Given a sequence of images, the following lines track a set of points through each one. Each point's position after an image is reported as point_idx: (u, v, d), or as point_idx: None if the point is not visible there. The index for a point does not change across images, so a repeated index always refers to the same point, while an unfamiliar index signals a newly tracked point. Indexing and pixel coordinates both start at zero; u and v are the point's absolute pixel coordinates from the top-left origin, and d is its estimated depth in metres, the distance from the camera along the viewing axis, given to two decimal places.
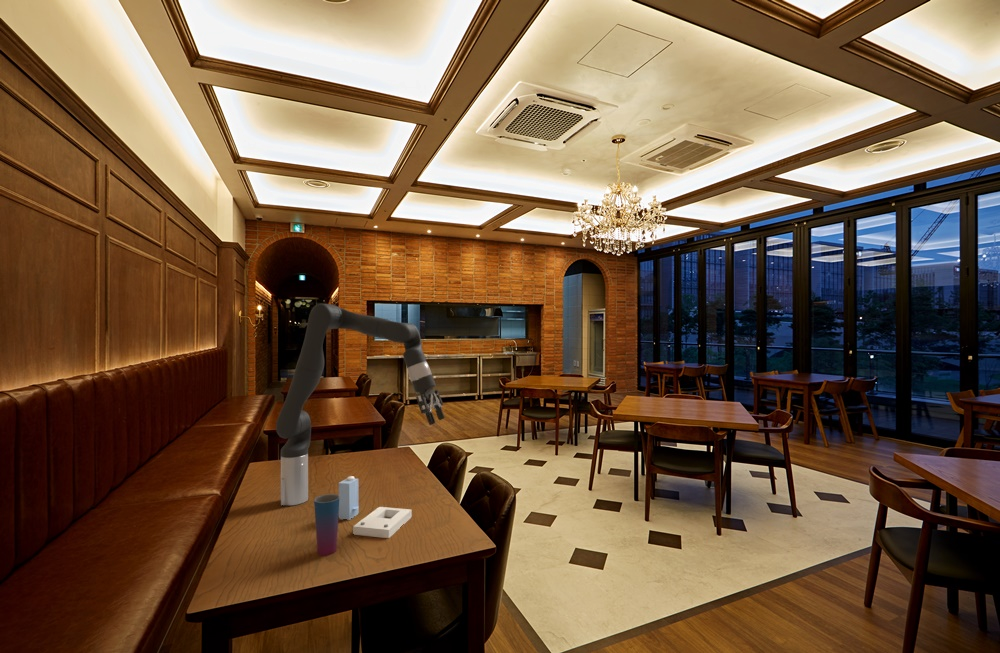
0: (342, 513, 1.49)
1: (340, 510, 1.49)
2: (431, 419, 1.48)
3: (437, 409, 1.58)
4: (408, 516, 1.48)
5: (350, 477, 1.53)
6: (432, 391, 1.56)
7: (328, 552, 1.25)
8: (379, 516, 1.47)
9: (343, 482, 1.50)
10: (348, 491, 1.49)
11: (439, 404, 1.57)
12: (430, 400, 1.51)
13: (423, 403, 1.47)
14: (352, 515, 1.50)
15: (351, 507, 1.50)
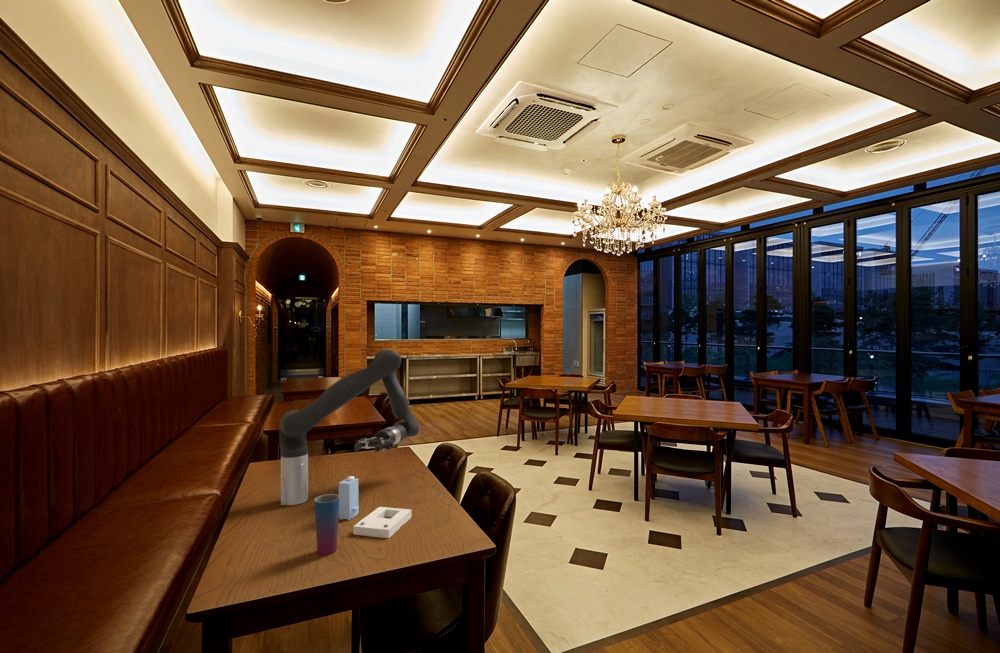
0: (342, 513, 1.49)
1: (340, 510, 1.49)
2: (380, 449, 1.63)
3: (361, 444, 1.67)
4: (408, 516, 1.48)
5: (350, 477, 1.53)
6: None
7: (328, 552, 1.25)
8: (379, 516, 1.47)
9: (343, 482, 1.50)
10: (348, 491, 1.49)
11: (364, 447, 1.68)
12: None
13: (392, 446, 1.68)
14: (352, 515, 1.50)
15: (351, 507, 1.50)
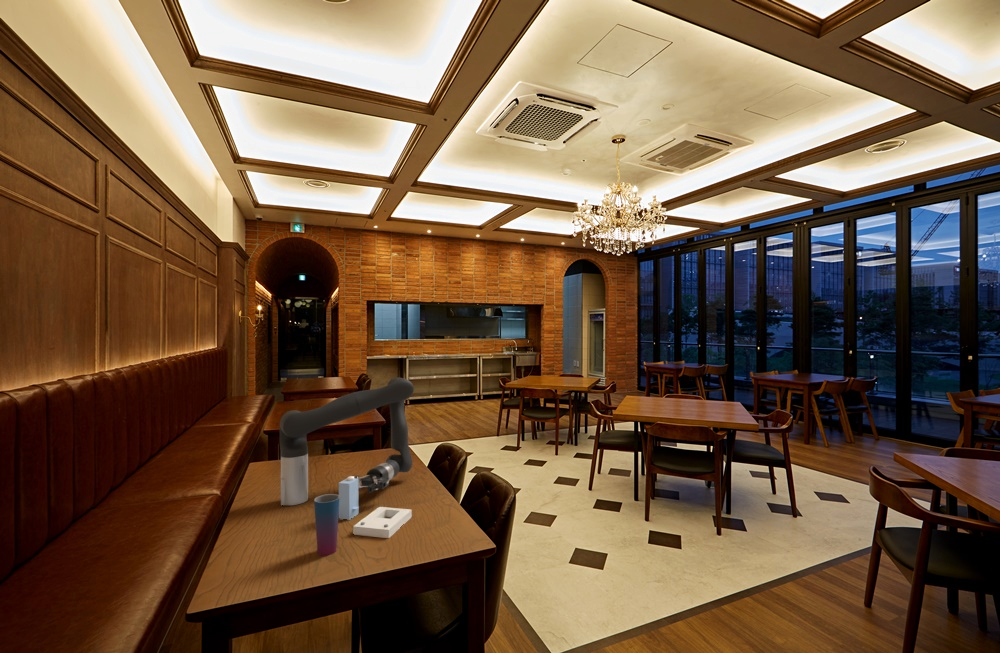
0: (342, 513, 1.49)
1: (340, 510, 1.49)
2: (373, 490, 1.57)
3: None
4: (408, 516, 1.48)
5: (350, 477, 1.53)
6: None
7: (328, 552, 1.25)
8: (379, 516, 1.47)
9: (343, 482, 1.50)
10: (348, 491, 1.49)
11: None
12: None
13: (386, 485, 1.63)
14: (352, 515, 1.50)
15: (351, 507, 1.50)
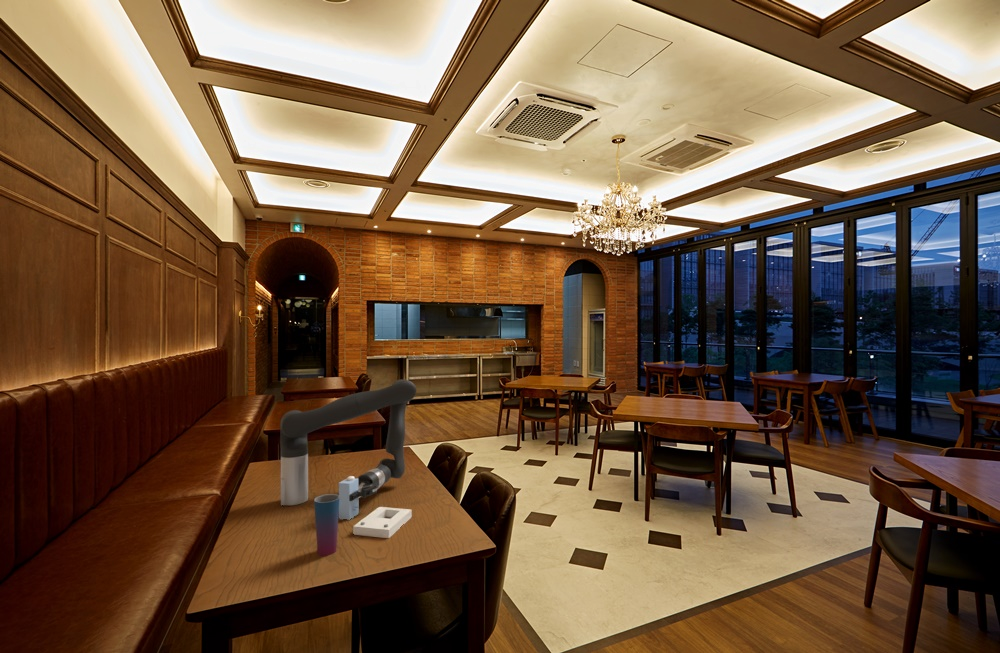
0: (342, 513, 1.49)
1: (340, 510, 1.49)
2: (355, 498, 1.50)
3: None
4: (408, 516, 1.48)
5: (350, 477, 1.53)
6: None
7: (328, 552, 1.25)
8: (379, 516, 1.47)
9: (343, 482, 1.50)
10: (348, 491, 1.49)
11: None
12: None
13: (370, 493, 1.54)
14: (352, 515, 1.50)
15: (351, 507, 1.50)
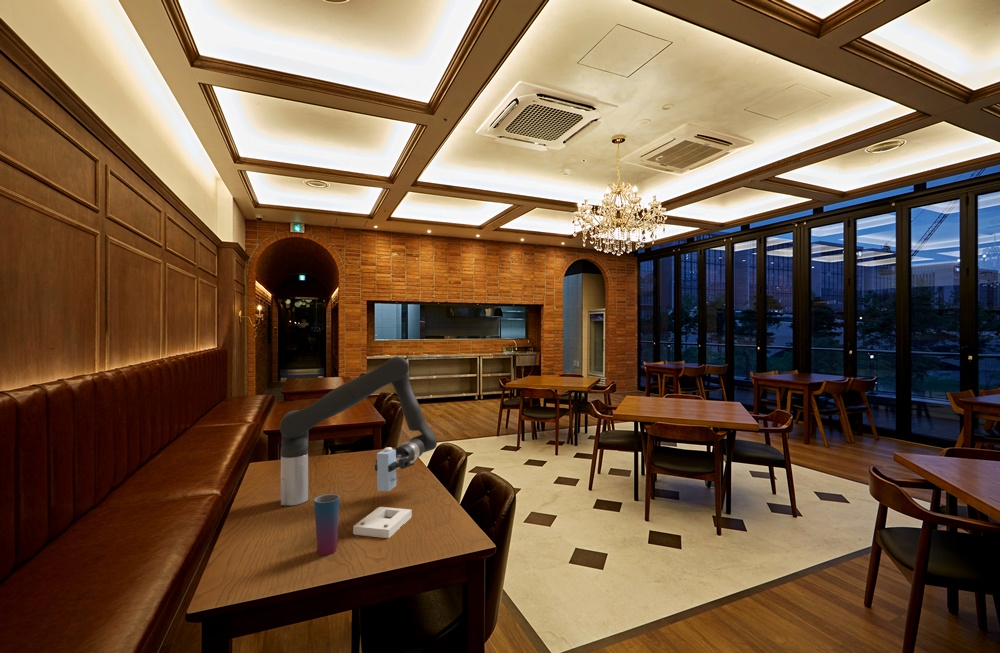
0: (381, 484, 1.45)
1: (379, 481, 1.45)
2: (394, 469, 1.46)
3: None
4: (408, 516, 1.48)
5: (388, 448, 1.49)
6: None
7: (328, 552, 1.25)
8: (379, 516, 1.47)
9: (381, 453, 1.46)
10: (387, 462, 1.45)
11: None
12: None
13: (408, 465, 1.50)
14: (391, 486, 1.46)
15: (390, 478, 1.46)
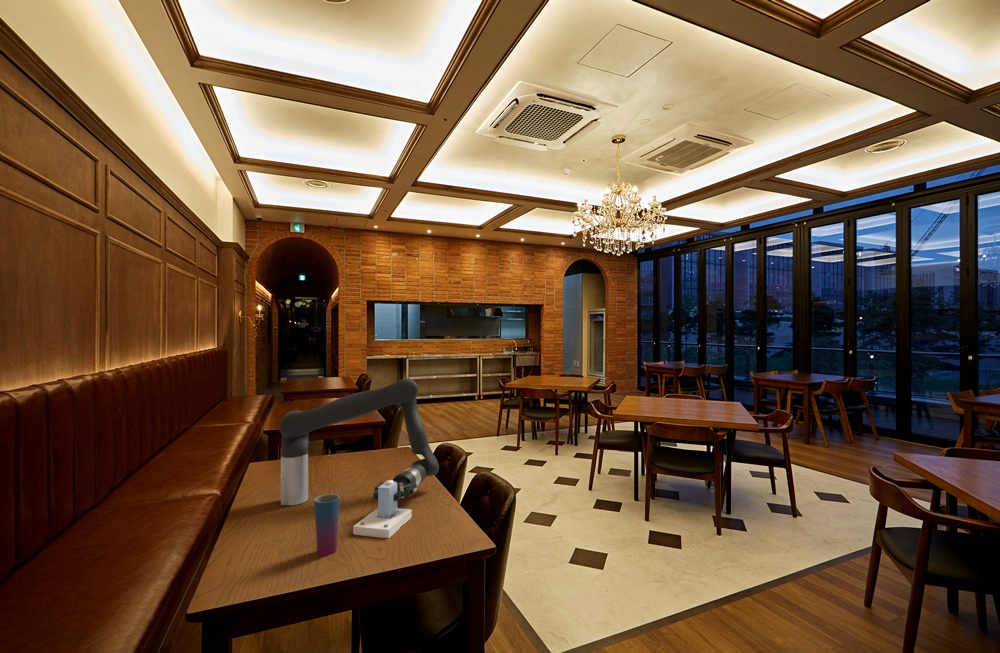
0: None
1: (380, 516, 1.44)
2: (399, 498, 1.45)
3: None
4: (408, 516, 1.48)
5: (389, 481, 1.48)
6: None
7: (328, 552, 1.25)
8: None
9: (382, 486, 1.45)
10: (388, 496, 1.44)
11: None
12: None
13: (413, 493, 1.50)
14: None
15: (391, 512, 1.45)
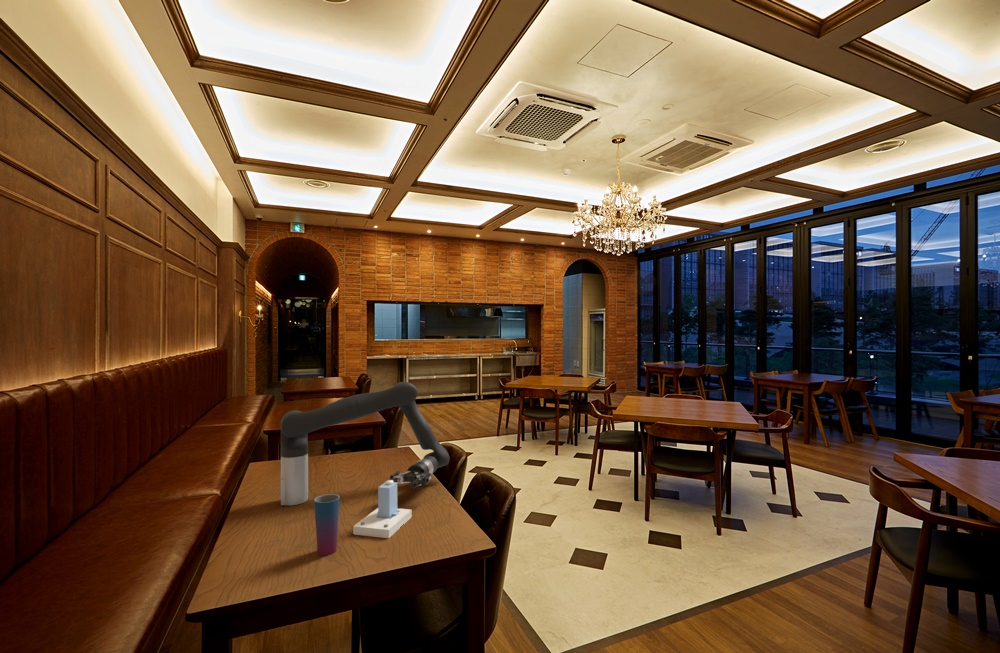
0: None
1: (380, 516, 1.44)
2: (417, 486, 1.57)
3: (396, 480, 1.61)
4: (408, 516, 1.48)
5: (389, 481, 1.48)
6: None
7: (328, 552, 1.25)
8: None
9: (382, 486, 1.45)
10: (388, 496, 1.44)
11: (398, 482, 1.62)
12: None
13: (428, 481, 1.62)
14: None
15: (391, 512, 1.45)
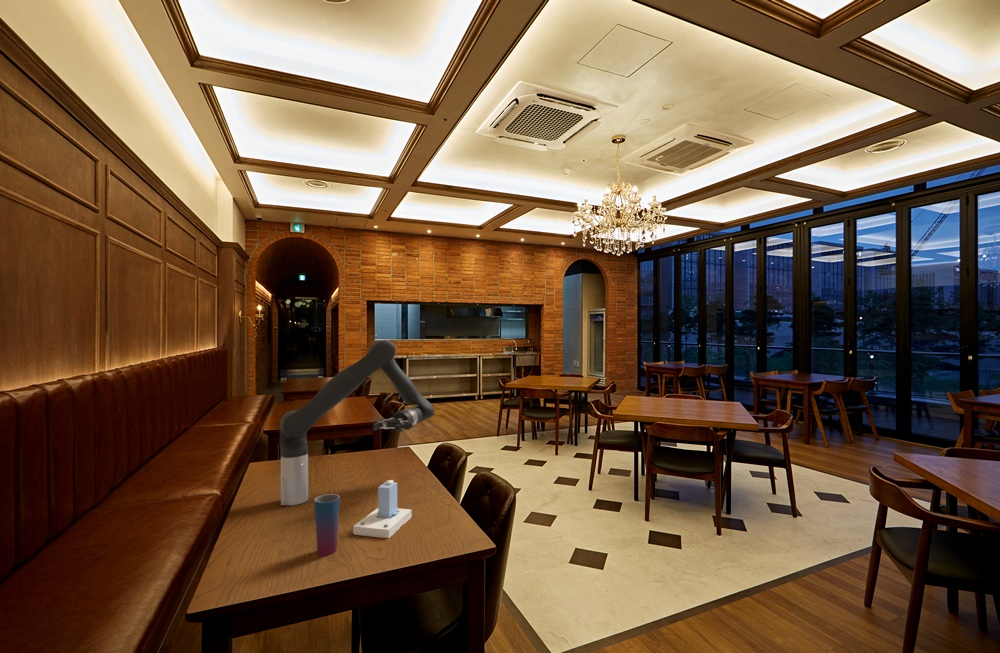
0: None
1: (380, 515, 1.44)
2: (400, 429, 1.60)
3: (379, 424, 1.65)
4: (408, 516, 1.48)
5: (389, 481, 1.48)
6: None
7: (328, 552, 1.25)
8: None
9: (382, 486, 1.45)
10: (388, 496, 1.44)
11: None
12: None
13: (411, 426, 1.66)
14: None
15: (391, 512, 1.45)
